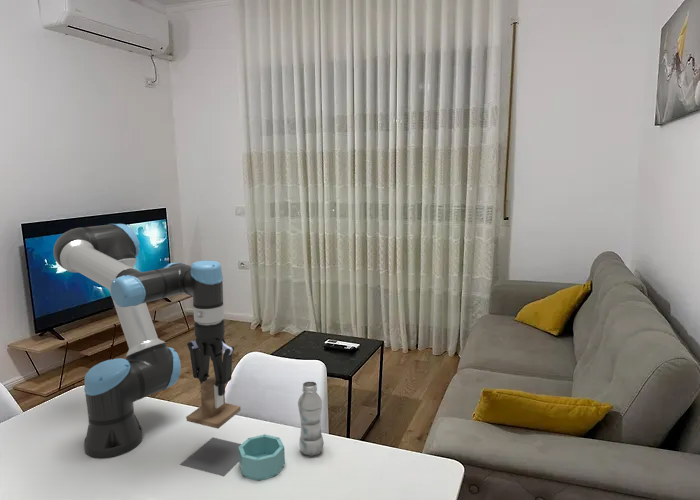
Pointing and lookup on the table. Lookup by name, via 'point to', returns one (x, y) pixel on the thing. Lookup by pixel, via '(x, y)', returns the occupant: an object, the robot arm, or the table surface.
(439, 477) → the table surface
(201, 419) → the cover lid
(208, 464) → the mat
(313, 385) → the plastic bottle
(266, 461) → the bowl
